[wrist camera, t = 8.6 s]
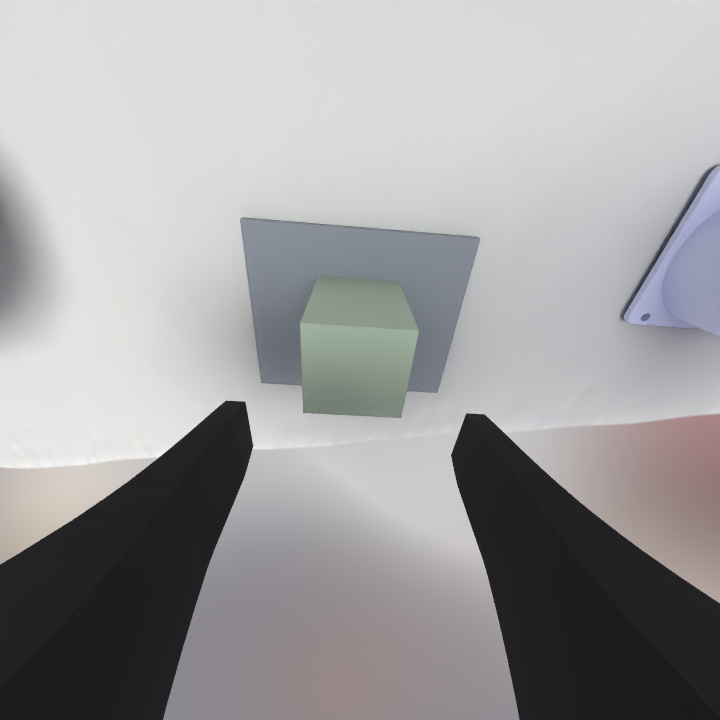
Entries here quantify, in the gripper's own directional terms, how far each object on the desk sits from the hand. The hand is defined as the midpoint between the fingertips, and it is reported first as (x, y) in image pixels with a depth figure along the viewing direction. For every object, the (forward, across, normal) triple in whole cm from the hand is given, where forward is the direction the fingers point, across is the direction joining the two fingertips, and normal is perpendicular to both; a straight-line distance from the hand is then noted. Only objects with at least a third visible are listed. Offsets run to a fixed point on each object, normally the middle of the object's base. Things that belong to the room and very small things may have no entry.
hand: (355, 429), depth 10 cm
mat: (+9, 0, 0) cm, 9 cm away
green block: (+9, 0, 0) cm, 9 cm away
